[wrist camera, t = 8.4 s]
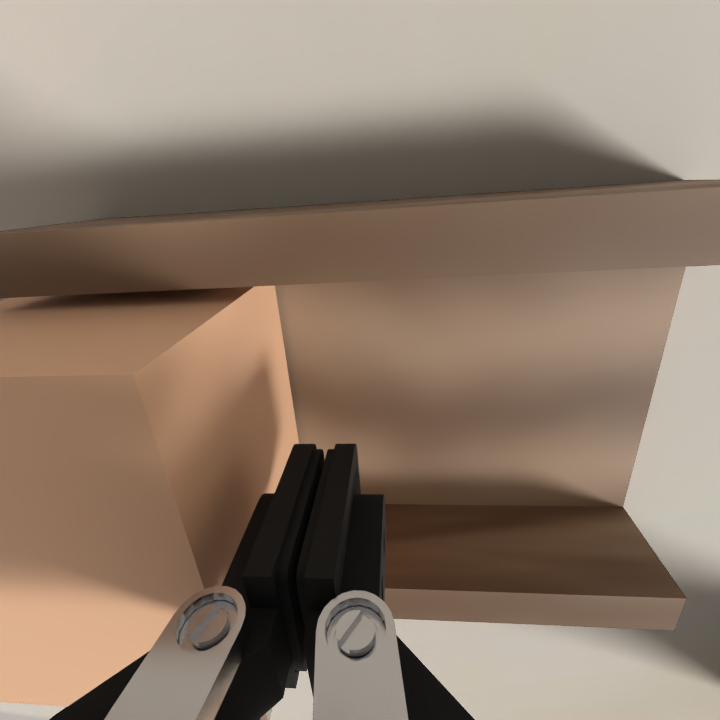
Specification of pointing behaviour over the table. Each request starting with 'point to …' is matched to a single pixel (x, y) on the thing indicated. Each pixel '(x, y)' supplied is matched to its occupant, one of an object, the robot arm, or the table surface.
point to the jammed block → (127, 469)
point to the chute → (453, 370)
